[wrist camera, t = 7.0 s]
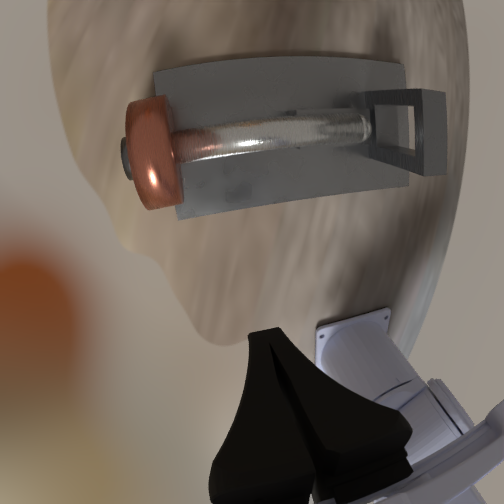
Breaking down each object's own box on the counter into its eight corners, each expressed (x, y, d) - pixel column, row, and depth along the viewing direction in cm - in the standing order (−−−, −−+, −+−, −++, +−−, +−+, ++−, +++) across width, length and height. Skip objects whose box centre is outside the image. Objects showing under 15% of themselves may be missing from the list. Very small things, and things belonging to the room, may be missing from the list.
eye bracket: (405, 184, 22) (462, 210, 16) (178, 218, 20) (171, 263, 14) (399, 64, 18) (461, 58, 12) (154, 73, 16) (132, 50, 10)
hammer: (349, 166, 20) (398, 186, 15) (146, 197, 18) (127, 229, 13) (343, 83, 17) (394, 76, 12) (130, 107, 16) (101, 103, 10)
